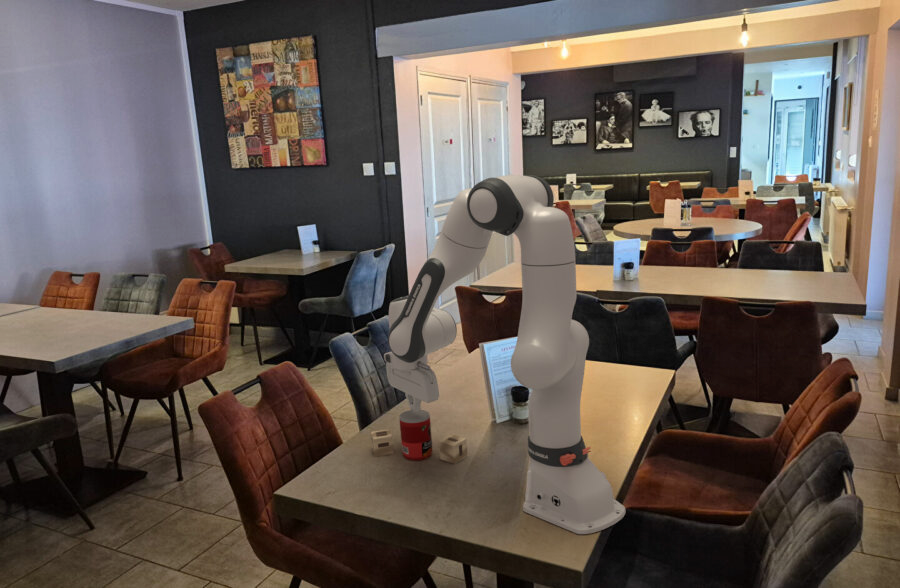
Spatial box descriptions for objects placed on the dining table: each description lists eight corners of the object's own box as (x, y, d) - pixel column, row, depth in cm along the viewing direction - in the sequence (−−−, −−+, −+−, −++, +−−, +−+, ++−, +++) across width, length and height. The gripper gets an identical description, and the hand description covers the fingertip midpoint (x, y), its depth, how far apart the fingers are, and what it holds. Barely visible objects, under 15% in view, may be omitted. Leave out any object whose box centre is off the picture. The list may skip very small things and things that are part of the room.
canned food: (429, 461, 166) (425, 420, 163) (399, 460, 167) (395, 420, 165) (435, 448, 173) (432, 409, 171) (406, 447, 175) (403, 409, 172)
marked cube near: (468, 456, 167) (466, 438, 166) (455, 464, 163) (453, 445, 162) (452, 452, 170) (451, 433, 169) (440, 459, 167) (438, 440, 166)
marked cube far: (393, 454, 171) (392, 435, 170) (375, 457, 170) (373, 438, 169) (391, 446, 176) (389, 428, 175) (372, 449, 175) (370, 431, 174)
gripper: (442, 363, 158) (447, 417, 161) (401, 348, 175) (406, 397, 177) (420, 369, 155) (425, 424, 157) (380, 353, 171) (385, 403, 174)
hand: (415, 409), depth 167 cm, fingers closed
